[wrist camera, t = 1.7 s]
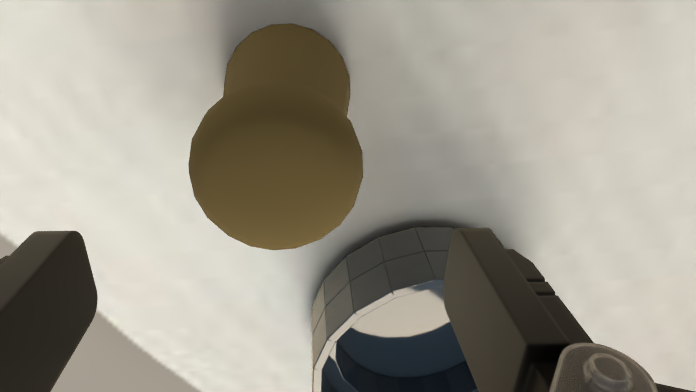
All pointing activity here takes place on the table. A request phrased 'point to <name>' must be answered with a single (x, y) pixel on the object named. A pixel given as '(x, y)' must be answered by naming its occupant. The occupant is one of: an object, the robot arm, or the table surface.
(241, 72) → the cork
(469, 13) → the table surface
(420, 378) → the bowl
